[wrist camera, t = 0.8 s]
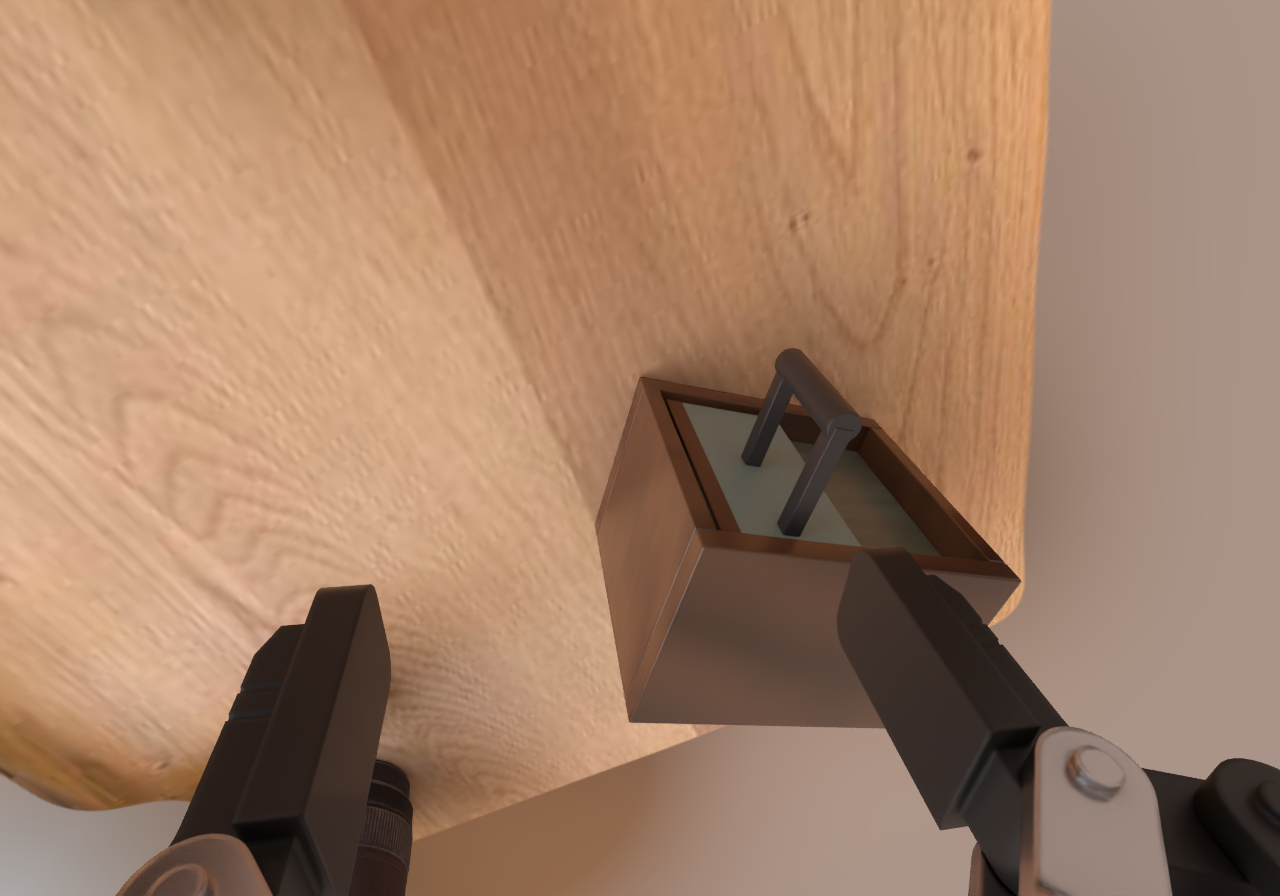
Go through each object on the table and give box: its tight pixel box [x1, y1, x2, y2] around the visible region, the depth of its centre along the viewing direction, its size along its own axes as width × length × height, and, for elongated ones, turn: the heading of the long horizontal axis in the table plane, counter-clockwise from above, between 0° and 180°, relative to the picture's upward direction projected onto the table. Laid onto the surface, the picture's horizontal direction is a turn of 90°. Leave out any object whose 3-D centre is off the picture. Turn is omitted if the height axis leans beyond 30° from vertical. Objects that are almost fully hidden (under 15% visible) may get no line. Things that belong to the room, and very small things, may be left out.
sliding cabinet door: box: [665, 348, 862, 547], centre depth 26 cm, size 6×6×9 cm
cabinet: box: [595, 377, 1021, 728], centre depth 30 cm, size 9×13×12 cm
